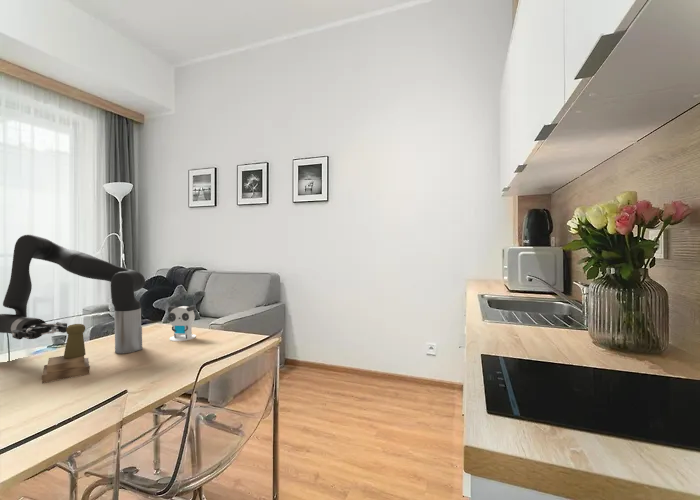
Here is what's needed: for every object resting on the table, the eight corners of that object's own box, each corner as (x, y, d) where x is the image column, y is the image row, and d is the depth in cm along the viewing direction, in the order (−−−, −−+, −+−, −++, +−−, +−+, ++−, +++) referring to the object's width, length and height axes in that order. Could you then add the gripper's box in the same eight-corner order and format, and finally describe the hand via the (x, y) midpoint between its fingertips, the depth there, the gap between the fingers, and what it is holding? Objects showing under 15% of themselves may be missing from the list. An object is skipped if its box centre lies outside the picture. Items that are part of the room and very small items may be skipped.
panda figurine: (162, 340, 154) (161, 308, 154) (178, 334, 165) (178, 303, 165) (186, 341, 152) (185, 309, 152) (200, 335, 164) (200, 304, 163)
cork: (72, 359, 115) (74, 327, 115) (58, 357, 116) (60, 325, 116) (89, 353, 121) (91, 323, 121) (76, 352, 122) (77, 321, 122)
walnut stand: (88, 364, 124) (88, 350, 124) (89, 374, 115) (89, 359, 115) (44, 372, 116) (44, 357, 116) (41, 383, 107) (41, 367, 107)
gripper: (2, 321, 120) (24, 326, 113) (51, 314, 133) (74, 318, 126) (3, 342, 120) (25, 348, 113) (52, 332, 133) (74, 337, 126)
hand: (50, 332), depth 120 cm, fingers open, 8 cm apart
